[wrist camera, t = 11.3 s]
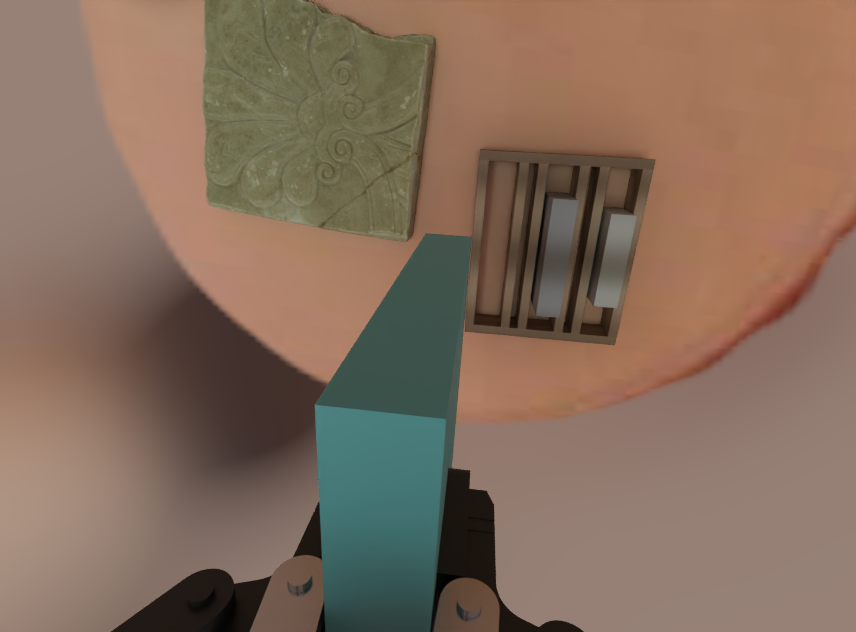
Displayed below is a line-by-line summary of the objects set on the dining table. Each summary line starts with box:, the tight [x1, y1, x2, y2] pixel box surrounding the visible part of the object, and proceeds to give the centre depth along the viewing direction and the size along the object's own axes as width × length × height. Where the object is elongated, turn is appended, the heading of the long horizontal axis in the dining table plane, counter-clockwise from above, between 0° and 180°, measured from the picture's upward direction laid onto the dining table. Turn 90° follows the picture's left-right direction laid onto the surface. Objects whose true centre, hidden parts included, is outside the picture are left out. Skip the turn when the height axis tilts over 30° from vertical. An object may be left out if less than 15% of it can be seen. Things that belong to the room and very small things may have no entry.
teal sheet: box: [315, 234, 472, 632], centre depth 15 cm, size 12×2×14 cm, turn 177°
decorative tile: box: [203, 0, 436, 241], centre depth 40 cm, size 19×20×4 cm
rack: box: [465, 150, 655, 345], centre depth 42 cm, size 17×14×3 cm
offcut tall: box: [530, 192, 579, 318], centre depth 40 cm, size 10×2×6 cm, turn 177°
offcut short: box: [587, 207, 637, 308], centre depth 41 cm, size 8×2×5 cm, turn 177°
